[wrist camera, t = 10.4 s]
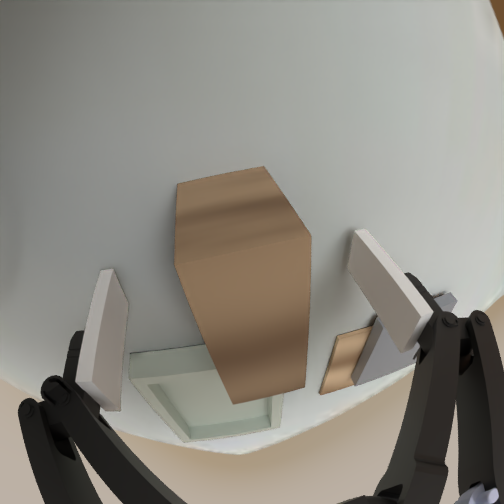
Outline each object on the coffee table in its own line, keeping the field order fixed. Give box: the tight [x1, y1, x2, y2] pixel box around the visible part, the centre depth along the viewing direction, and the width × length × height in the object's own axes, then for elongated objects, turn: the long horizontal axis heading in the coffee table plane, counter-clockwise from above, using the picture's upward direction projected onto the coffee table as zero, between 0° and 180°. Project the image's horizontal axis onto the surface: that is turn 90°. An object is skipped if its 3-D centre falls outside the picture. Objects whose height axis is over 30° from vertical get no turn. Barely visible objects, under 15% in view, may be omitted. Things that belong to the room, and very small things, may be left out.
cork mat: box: [319, 326, 373, 395], centre depth 27 cm, size 11×13×1 cm
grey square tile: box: [351, 292, 457, 386], centre depth 25 cm, size 1×9×10 cm
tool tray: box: [129, 344, 284, 443], centre depth 24 cm, size 16×11×2 cm
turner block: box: [174, 166, 311, 405], centre depth 14 cm, size 10×4×6 cm, turn 7°
